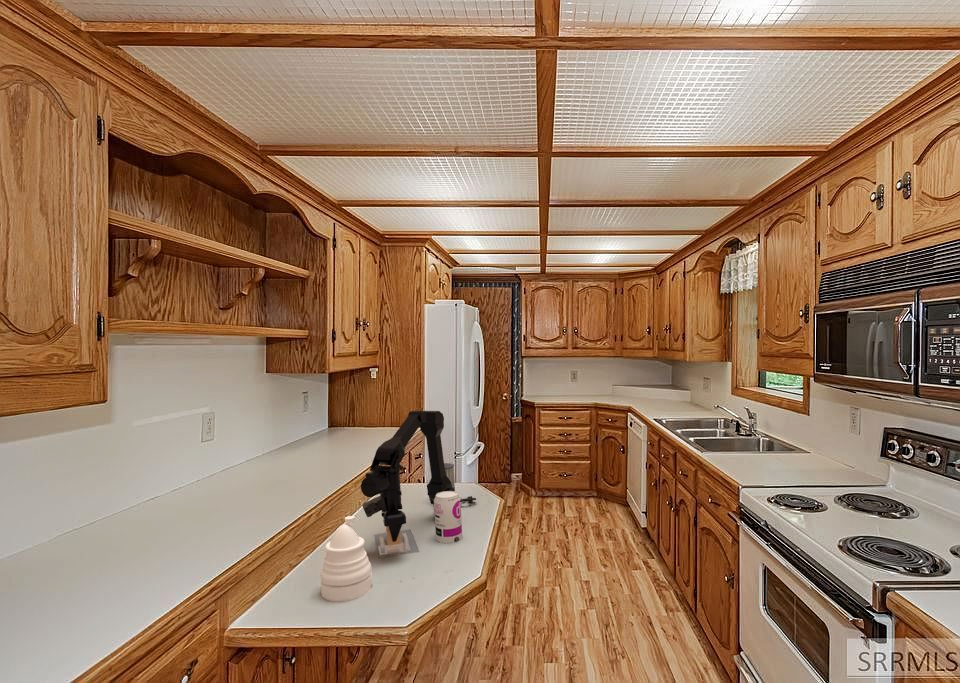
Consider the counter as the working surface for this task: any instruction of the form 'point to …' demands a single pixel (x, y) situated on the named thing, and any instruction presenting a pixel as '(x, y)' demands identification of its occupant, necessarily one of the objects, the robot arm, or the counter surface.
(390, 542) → the orange rectangular block
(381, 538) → the end holder
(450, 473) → the milk frother
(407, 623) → the counter surface
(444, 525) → the supplement can
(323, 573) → the honey pot
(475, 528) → the counter surface
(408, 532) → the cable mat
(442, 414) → the robot arm
